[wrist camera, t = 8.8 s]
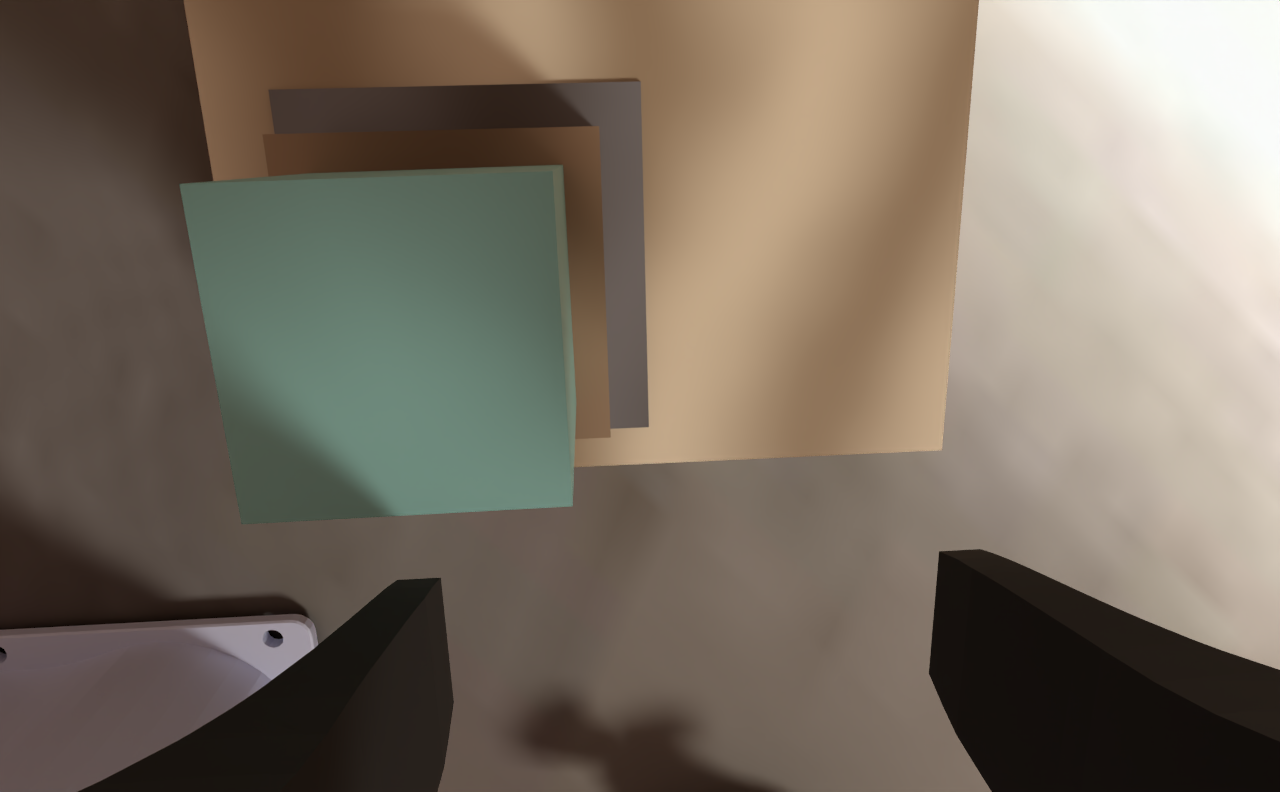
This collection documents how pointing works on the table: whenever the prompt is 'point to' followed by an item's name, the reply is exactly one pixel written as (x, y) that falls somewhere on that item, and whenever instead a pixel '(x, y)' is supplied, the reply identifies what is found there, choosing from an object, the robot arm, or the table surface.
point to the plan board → (680, 185)
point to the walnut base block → (497, 150)
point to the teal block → (390, 339)
